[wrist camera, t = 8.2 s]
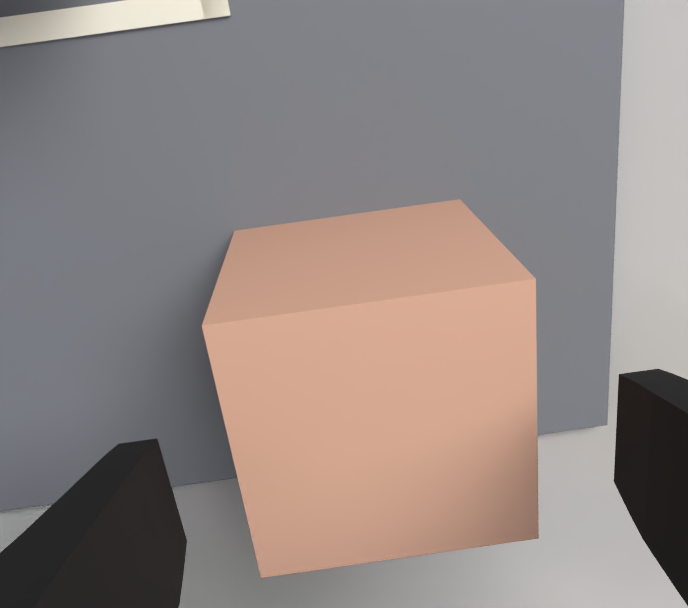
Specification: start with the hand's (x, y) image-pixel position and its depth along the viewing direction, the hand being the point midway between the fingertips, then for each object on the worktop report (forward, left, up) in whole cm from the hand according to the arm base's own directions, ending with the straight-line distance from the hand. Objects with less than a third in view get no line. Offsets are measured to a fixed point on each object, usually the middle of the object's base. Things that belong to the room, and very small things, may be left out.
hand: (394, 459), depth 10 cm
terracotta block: (0, 0, -6) cm, 6 cm away
